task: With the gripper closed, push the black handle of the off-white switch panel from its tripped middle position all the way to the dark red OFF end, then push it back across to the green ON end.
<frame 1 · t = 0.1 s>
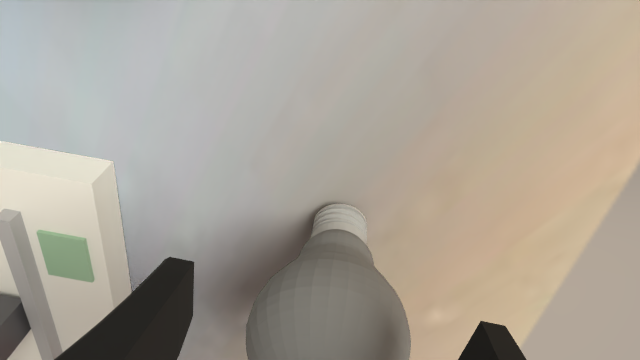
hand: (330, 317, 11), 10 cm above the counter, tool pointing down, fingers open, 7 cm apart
breaker panel: (29, 278, 27), on the counter
light bulb: (341, 216, 22), on the counter
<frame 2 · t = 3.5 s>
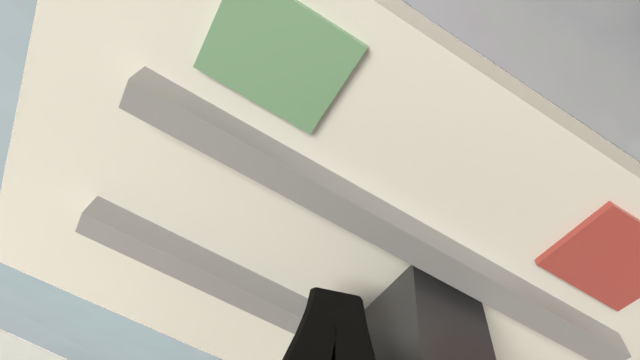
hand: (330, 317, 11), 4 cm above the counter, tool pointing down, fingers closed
breaker panel: (360, 230, 15), on the counter
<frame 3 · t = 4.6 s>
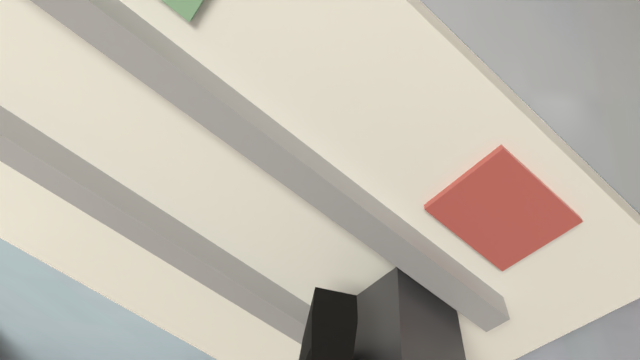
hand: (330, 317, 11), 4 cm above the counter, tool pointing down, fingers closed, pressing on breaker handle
breaker panel: (258, 164, 14), on the counter
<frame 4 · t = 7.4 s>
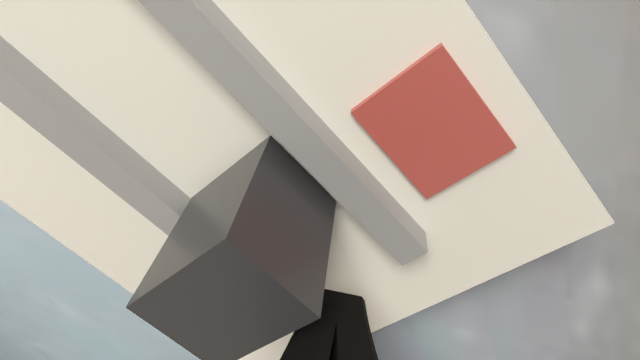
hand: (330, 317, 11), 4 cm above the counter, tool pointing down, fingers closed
breaker panel: (178, 55, 12), on the counter
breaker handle: (244, 247, 10), point 4 cm above the counter, slide at -3.9 cm, touching gripper
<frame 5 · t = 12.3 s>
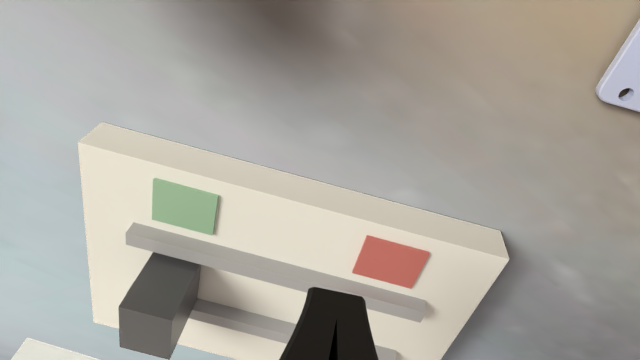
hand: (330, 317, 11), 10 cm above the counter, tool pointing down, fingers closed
breaker panel: (279, 268, 25), on the counter
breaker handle: (162, 302, 22), point 4 cm above the counter, slide at 5.0 cm
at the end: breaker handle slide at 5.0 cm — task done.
